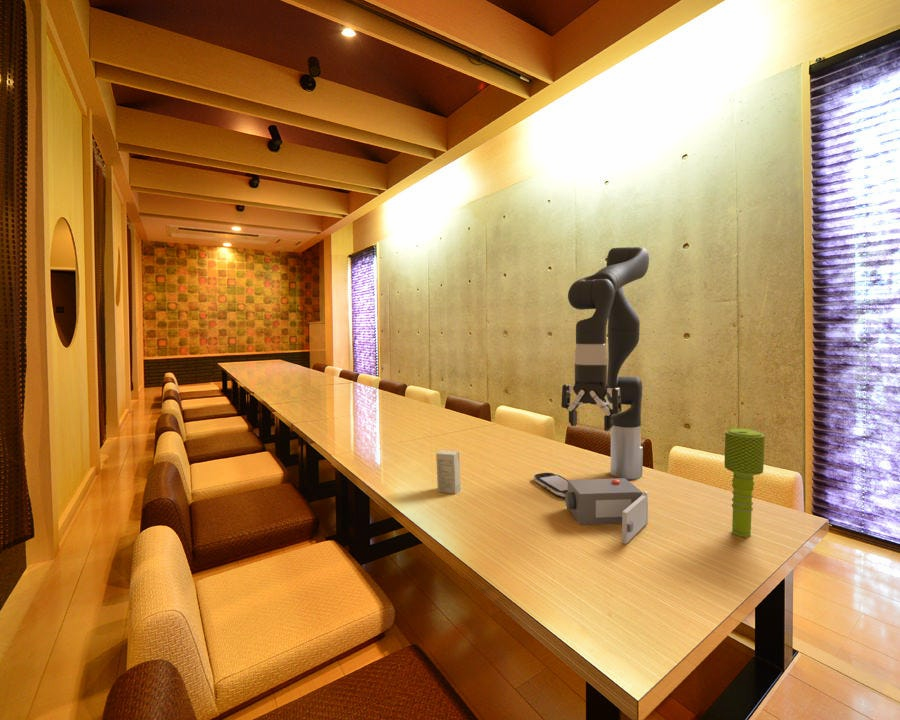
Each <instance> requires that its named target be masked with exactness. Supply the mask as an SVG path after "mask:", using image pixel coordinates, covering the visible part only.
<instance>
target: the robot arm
mask: <svg viewBox="0 0 900 720" xmlns="http://www.w3.org/2000/svg"><path fill="white" fill-rule="evenodd" d="M606 257H607V258H606V266H605V267H602V268H600V269H599V270H598V271H597V272H595V273H594V274H592V275H589V276H586V277H585V276H584V277H583V278H580V279H577V280H576V281H574V282H573V283H572V284H571V285H570V287H569V289H568V291H567V299H568V302H569V304H570V306H571V307H572V308H574V309H575V310H582V311H583V310H594V313H593V314H592V316H591V317H589V318H588V317H587V318H584V319H580V320H578V321H577V323H576V324H575V349H574V384H573V385H572V384H570V383H566V384H563V385H562V388H561V389H562V390H561V401H560V402H561V405H560V406H561V408H562V409H566V410H567V411H568V423H569V424H570V426H571V427H576V426H577V424H578V410H577V408H578V407H579V406H580V405H581V404H590V405H598V407H599V408H600V409H601V410H602V411H603V413H604V414H605V415H604V417H603V419H604V420H603V421H604V422H603V424H604V426H603V427H604V428H603V430H604V432H609V431H610V475H611V476H613V477H614V478H625V479H627V480H638V479H639V478H640V477H642V476H643V464H644V463H643V459H644V458H643V456H644V454H643V453H644V449H643V446H641V445H642V444H641V443H642V442H641V441H642V440H641V439H642V438H641V436H642V435H641V431H642V429H641V427H642V418H641V415H642V398H643V383H642V379H641V378H640V377H638V376H618V374H619V373H620V371H621V368H622V366H623V365H624V363H625V361H626V360H627V359H628V357H629V356H630V355H631V353H632V352H633V351H634V350H635V349H636V347H637V346H638V344H639V341H640V325H641V322H640V318H639V315H638V314H637V312H636V311H635V309H634V308H633V306H632V305H631V303H630V302H629V300H628V299H627V297H626V294H625V293H624V289H623V288H624V286H626V285H628V284H630V283H632V282H634V281H637V280H640V279H643V277H645V275H646V274H647V272H648V270H649V266H650V257H649V252H648V250H647V249H646V248H644V247H642V246H641V247H640V246H631V247H630V246H628V247H627V246H625V247H613V248H611V249H609V251H608V253H607V256H606ZM607 348H608V349H607ZM573 392H574V393H575V395H576V396H575V397H574V399H573V400H572V401H571V394H572V393H573ZM610 404H612V406H611V405H610ZM622 405H624V406H626V405H627V406H629V405H630V407H629V408H627V409H626V410H624V411H622Z"/></svg>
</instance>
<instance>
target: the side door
mask: <svg viewBox="0 0 900 720" xmlns="http://www.w3.org/2000/svg"><path fill="white" fill-rule="evenodd" d="M642 492H643V495H642V496H640V497H639V498H638V499H637V500H636V501H634V502H633V503H632V504H631V505H630V506H629V507H627V508H626V509H625V510H624V511H623V512H622V523H621V524H622V525H621V526H622V527H621V543H623V544H628V543H629V542H630V540H632V538H634V536H635V535H637V534H638V533H639V532H640V531H641V530H642V529H643V528H644V527H645V526H647V525H648V524H649V523H648V522H649V515H648V514H649V491H646V490H643V491H642Z"/></svg>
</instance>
